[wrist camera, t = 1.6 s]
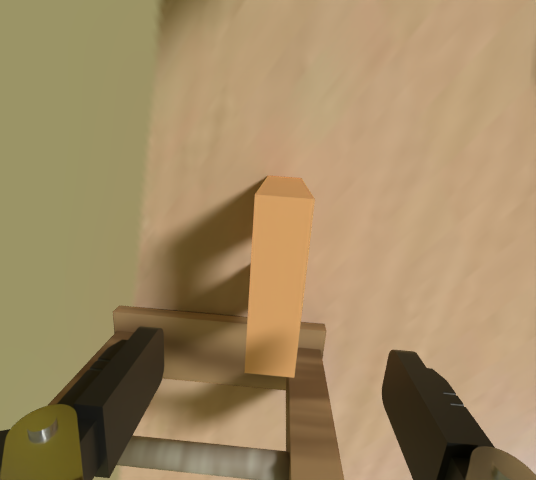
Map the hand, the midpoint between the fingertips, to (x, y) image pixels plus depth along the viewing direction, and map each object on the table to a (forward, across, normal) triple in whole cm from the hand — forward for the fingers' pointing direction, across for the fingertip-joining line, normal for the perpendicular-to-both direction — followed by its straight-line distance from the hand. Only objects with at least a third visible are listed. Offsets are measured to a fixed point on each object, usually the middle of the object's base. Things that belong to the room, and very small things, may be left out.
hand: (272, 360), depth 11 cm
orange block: (+17, 0, 0) cm, 17 cm away
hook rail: (+17, +5, +12) cm, 21 cm away
